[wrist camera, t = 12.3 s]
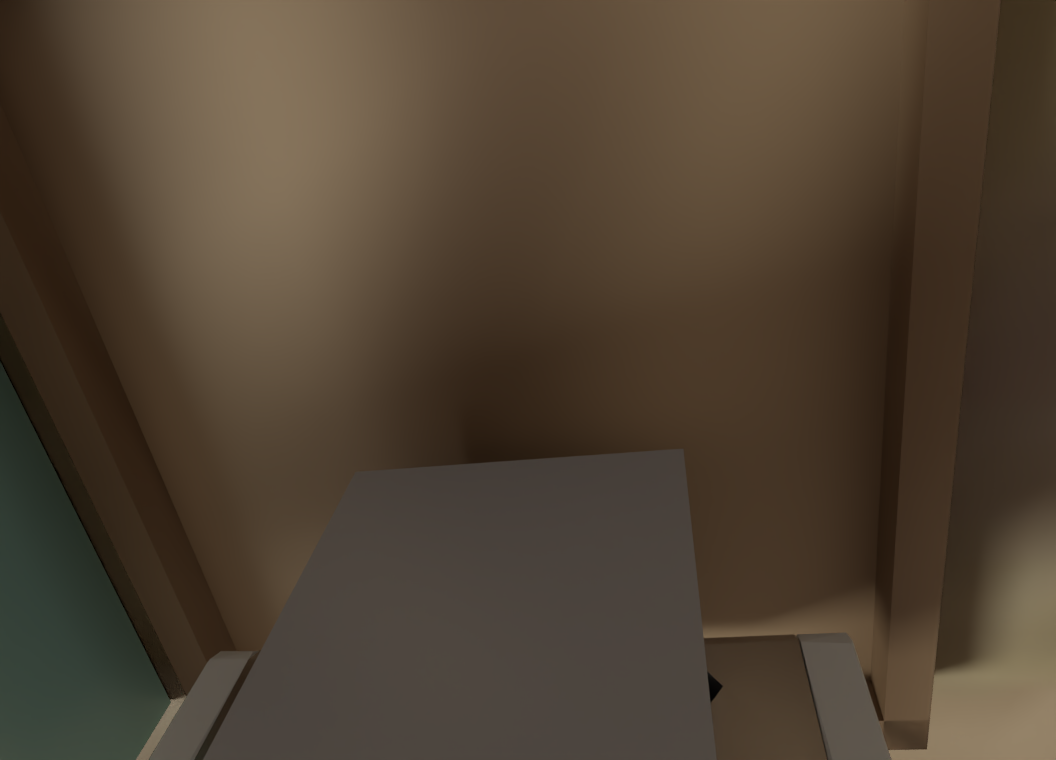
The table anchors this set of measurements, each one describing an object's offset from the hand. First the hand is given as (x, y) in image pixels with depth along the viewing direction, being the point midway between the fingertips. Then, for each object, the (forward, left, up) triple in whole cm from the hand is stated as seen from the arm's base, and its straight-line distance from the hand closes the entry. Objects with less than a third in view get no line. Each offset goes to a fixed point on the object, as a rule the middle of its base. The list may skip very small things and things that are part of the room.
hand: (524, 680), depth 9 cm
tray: (0, -2, -3) cm, 4 cm away
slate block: (0, 0, -2) cm, 2 cm away
